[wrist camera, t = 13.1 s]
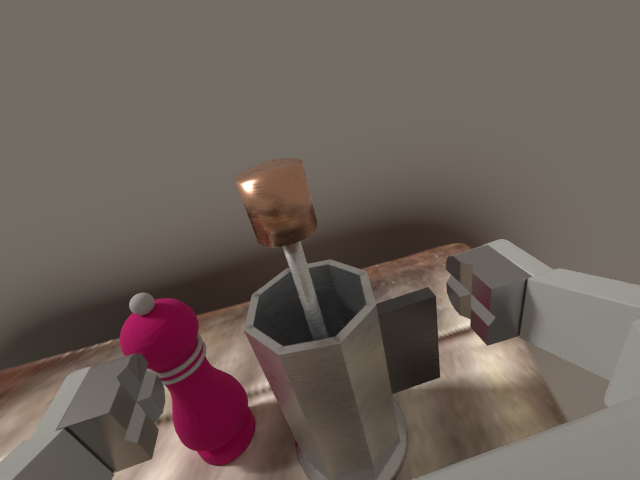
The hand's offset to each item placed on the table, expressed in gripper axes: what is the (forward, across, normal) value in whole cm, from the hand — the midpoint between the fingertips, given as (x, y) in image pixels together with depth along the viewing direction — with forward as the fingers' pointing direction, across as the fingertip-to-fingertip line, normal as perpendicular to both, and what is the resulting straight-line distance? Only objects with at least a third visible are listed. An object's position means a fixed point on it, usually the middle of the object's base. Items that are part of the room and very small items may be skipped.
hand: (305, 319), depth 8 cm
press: (+12, -1, +27) cm, 30 cm away
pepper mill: (+16, +12, +28) cm, 34 cm away
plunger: (+12, 0, +25) cm, 28 cm away
